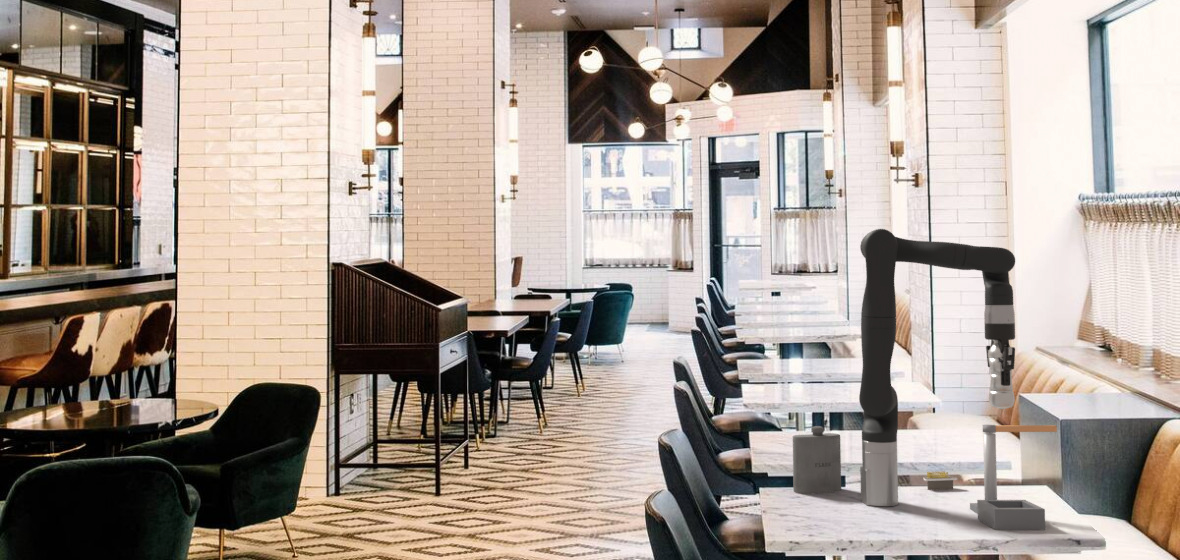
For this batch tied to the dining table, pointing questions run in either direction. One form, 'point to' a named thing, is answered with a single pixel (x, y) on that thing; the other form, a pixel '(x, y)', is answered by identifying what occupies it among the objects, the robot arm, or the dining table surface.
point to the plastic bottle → (999, 381)
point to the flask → (816, 462)
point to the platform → (939, 480)
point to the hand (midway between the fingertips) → (1001, 384)
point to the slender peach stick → (1019, 428)
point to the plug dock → (1004, 511)
